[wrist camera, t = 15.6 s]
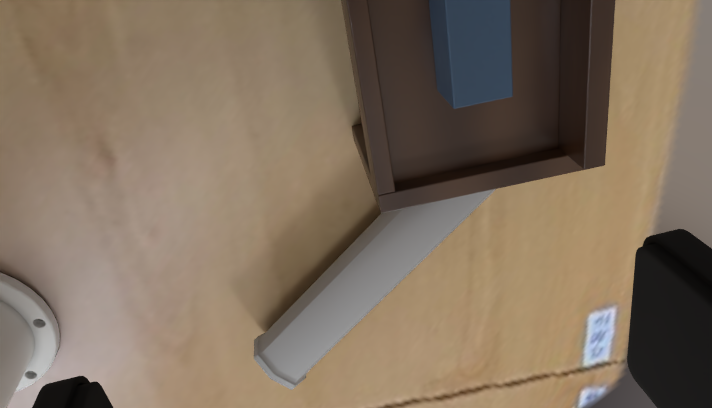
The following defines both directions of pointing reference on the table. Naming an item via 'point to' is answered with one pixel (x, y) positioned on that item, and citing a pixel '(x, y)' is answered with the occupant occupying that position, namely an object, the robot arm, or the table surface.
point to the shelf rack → (485, 120)
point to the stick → (472, 50)
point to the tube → (357, 285)
